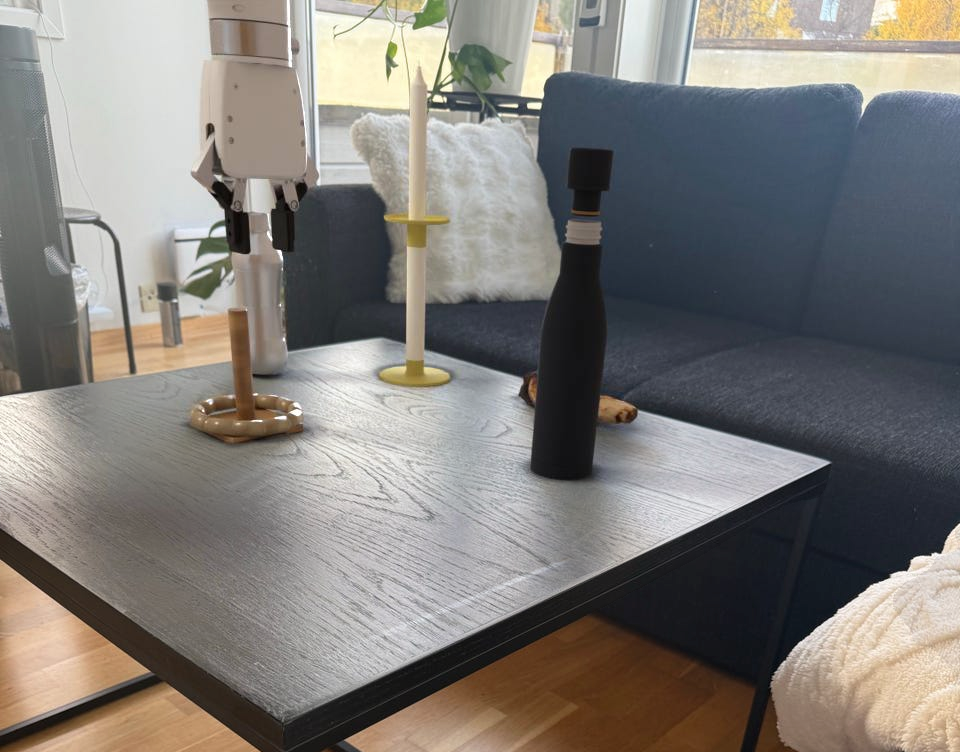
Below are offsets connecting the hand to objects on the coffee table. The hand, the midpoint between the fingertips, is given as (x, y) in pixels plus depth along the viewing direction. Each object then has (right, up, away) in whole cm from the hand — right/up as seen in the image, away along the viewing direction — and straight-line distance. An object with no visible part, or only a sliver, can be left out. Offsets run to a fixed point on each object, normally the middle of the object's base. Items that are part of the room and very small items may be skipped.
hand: (261, 249), depth 97 cm
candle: (+14, -5, +31) cm, 35 cm away
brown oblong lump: (+34, -14, +17) cm, 40 cm away
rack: (-3, -18, +6) cm, 19 cm away
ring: (-3, -16, +5) cm, 17 cm away
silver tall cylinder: (-7, -5, +29) cm, 30 cm away
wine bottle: (+31, -24, -1) cm, 40 cm away
